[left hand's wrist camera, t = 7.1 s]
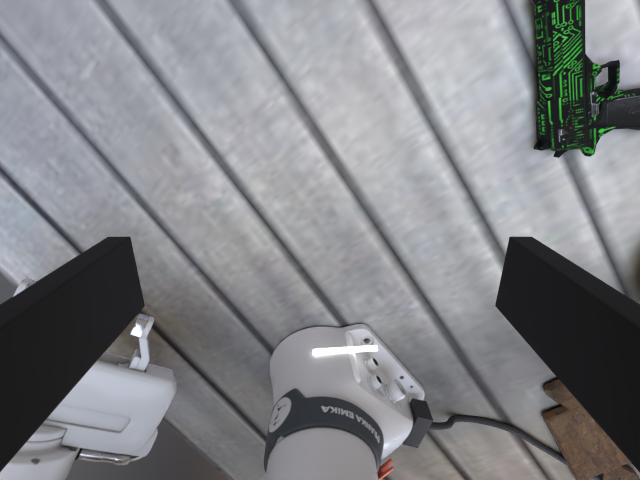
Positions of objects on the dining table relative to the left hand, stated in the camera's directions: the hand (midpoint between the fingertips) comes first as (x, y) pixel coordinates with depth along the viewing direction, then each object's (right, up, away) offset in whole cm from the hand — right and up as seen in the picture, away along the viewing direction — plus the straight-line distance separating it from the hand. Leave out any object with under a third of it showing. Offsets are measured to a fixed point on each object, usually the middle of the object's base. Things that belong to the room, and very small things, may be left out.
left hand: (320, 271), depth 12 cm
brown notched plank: (+41, -28, +41) cm, 64 cm away
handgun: (+28, +18, +23) cm, 40 cm away
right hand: (-21, -4, +20) cm, 29 cm away
